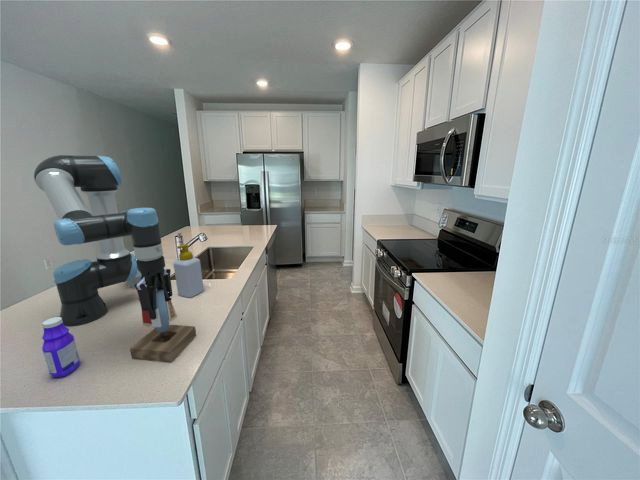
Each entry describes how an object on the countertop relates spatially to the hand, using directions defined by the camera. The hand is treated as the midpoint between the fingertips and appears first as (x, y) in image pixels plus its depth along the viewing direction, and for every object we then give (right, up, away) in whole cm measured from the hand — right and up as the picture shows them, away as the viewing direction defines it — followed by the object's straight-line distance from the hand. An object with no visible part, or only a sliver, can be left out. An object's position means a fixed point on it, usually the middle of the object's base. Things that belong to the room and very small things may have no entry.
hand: (161, 322), depth 90 cm
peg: (0, -3, +1) cm, 3 cm away
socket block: (0, -9, +3) cm, 10 cm away
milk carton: (-12, -5, +19) cm, 23 cm away
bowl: (-42, +5, +54) cm, 69 cm away
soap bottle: (-10, +1, +42) cm, 43 cm away
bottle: (-24, -13, -8) cm, 29 cm away
